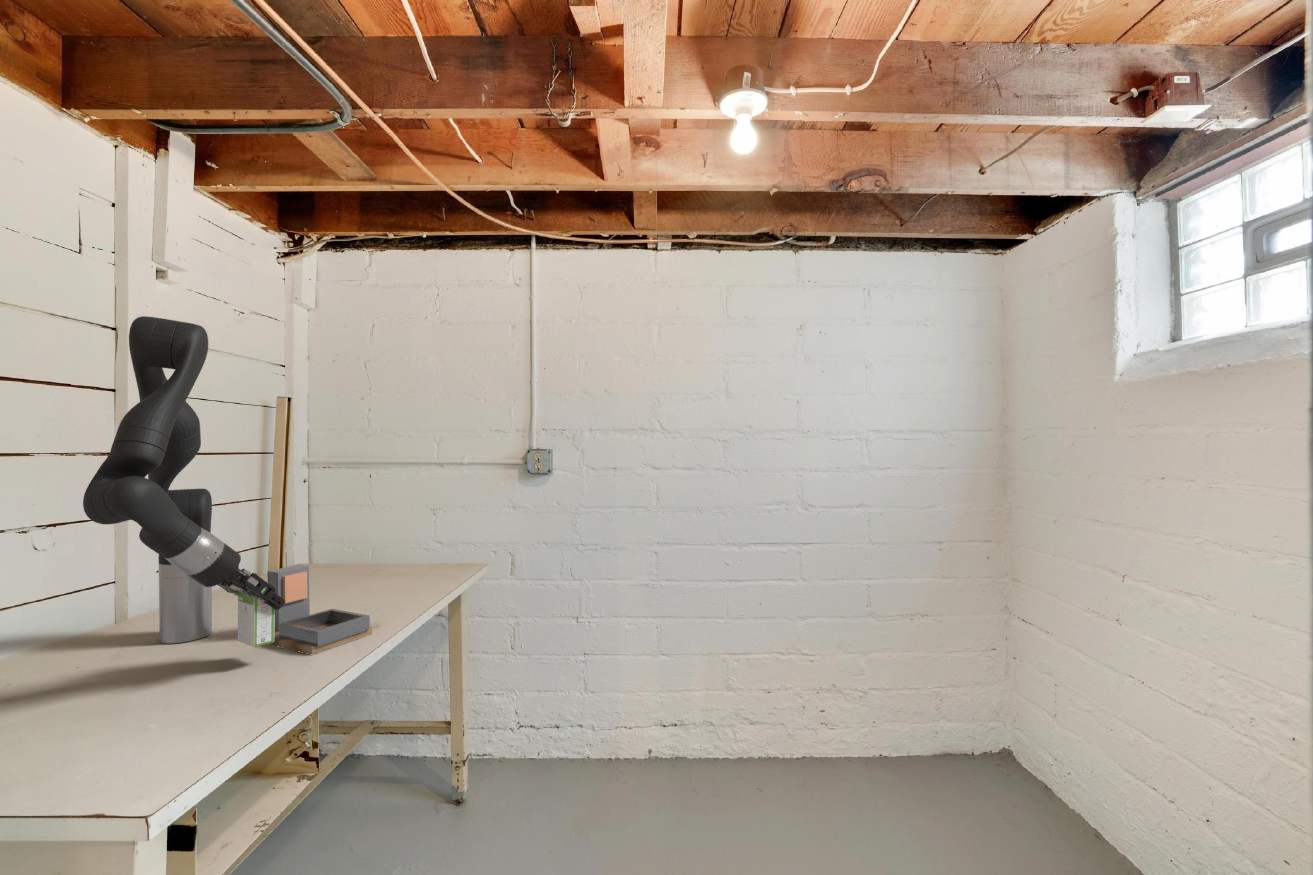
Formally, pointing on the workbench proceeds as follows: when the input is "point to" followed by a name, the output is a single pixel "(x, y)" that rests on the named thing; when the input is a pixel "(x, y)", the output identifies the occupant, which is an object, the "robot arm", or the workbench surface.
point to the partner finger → (291, 592)
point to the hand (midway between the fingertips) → (269, 603)
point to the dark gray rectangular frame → (307, 634)
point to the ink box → (255, 621)
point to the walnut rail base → (315, 649)
